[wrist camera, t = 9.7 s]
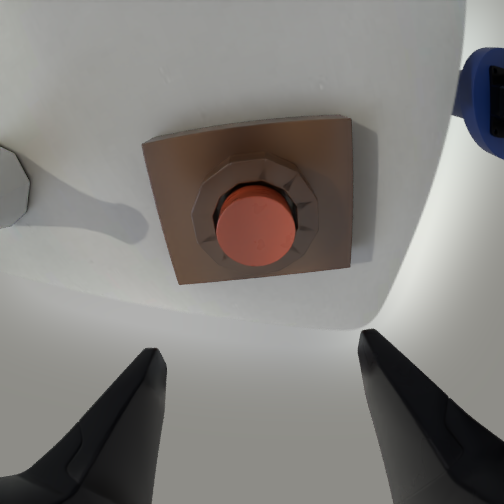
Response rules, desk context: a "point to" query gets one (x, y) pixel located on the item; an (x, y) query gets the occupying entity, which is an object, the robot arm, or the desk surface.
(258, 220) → the power button
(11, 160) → the flask
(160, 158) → the button block
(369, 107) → the desk surface
